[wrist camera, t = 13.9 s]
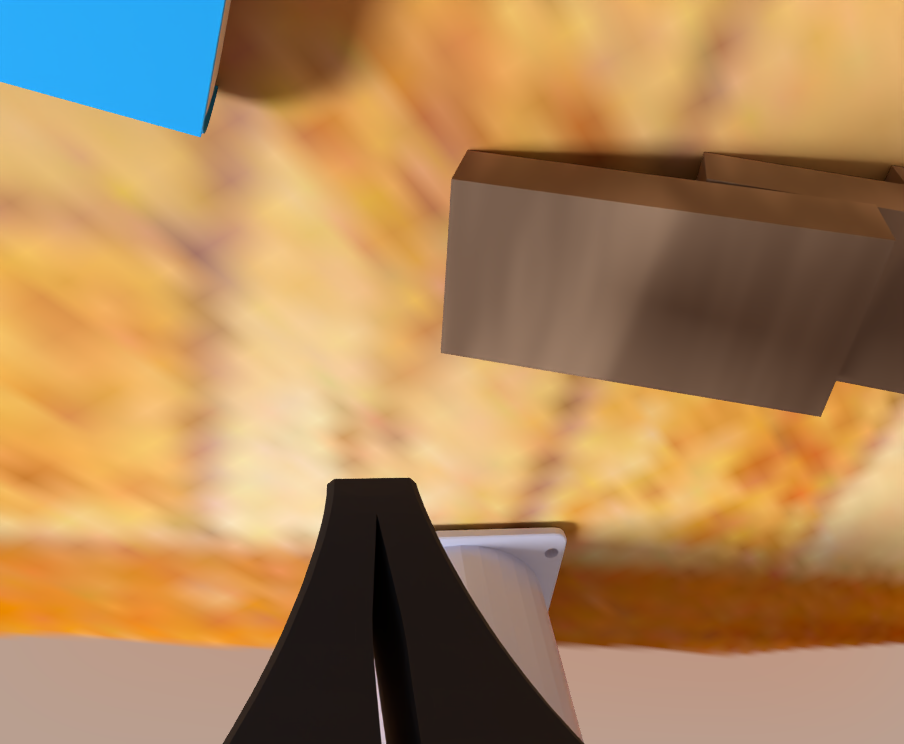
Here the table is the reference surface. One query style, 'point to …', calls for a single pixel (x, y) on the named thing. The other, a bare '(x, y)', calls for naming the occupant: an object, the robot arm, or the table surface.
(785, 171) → the domino
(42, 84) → the book
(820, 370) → the domino
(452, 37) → the table surface
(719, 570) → the table surface
